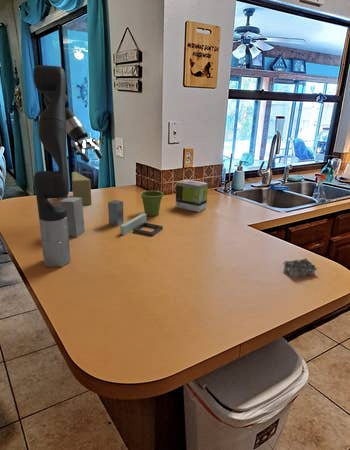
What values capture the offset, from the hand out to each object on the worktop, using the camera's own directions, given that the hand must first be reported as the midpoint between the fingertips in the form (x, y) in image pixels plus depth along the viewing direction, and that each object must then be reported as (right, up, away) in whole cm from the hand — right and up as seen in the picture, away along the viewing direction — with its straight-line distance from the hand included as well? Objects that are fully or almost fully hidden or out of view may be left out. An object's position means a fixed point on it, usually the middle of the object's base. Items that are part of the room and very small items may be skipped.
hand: (94, 159), depth 155 cm
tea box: (+46, -21, +34) cm, 61 cm away
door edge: (+18, -31, +2) cm, 36 cm away
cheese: (-19, -16, +39) cm, 47 cm away
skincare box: (-8, -34, -7) cm, 35 cm away
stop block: (+9, -30, +6) cm, 31 cm away
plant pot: (+25, -25, +22) cm, 41 cm away
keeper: (+25, -33, 0) cm, 41 cm away
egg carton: (+82, -48, -32) cm, 100 cm away
